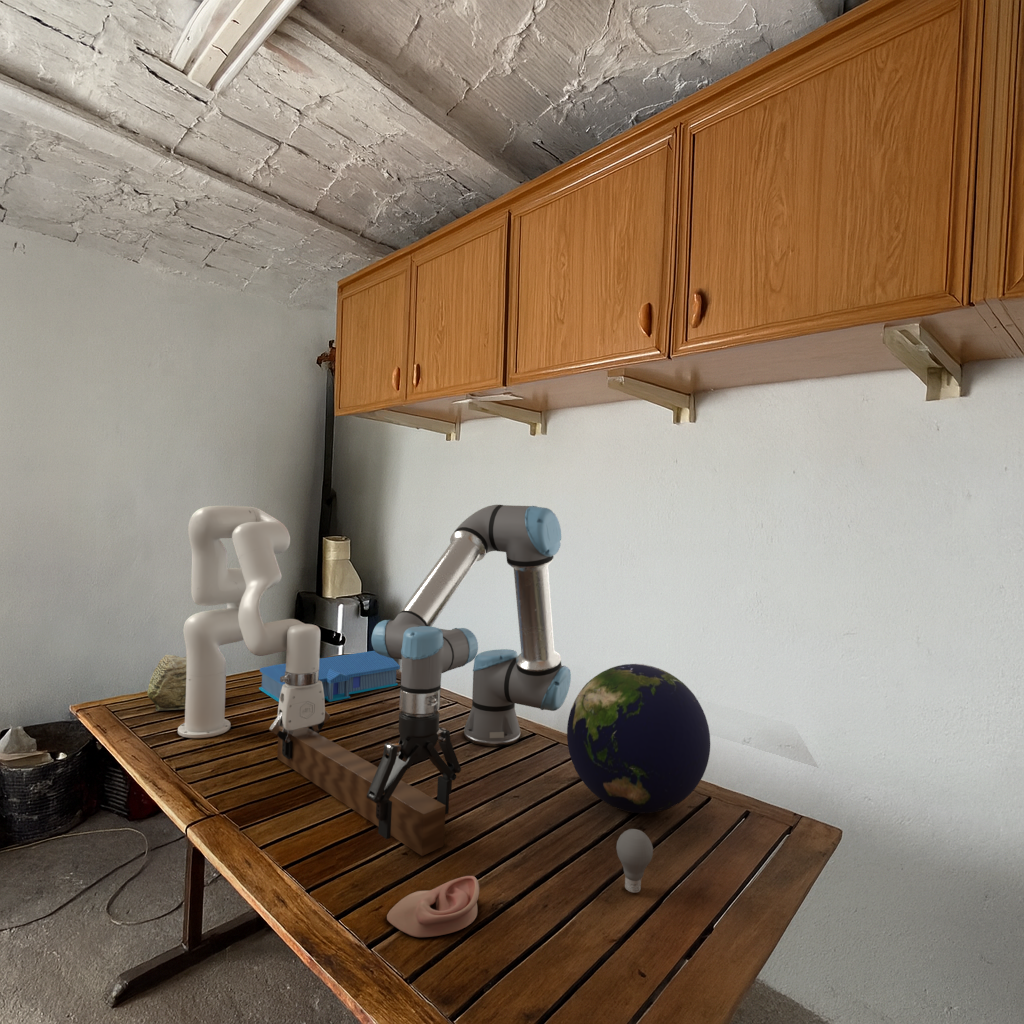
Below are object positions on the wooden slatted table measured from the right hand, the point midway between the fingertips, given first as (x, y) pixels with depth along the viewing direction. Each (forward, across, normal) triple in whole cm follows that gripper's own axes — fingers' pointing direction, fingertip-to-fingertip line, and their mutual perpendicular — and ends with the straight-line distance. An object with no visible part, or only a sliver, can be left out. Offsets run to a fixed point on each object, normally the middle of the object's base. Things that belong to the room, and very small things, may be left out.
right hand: (414, 823), depth 119 cm
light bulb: (+3, +17, -37) cm, 41 cm away
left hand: (0, 0, +44) cm, 44 cm away
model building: (+2, +36, +91) cm, 98 cm away
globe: (+3, +43, -21) cm, 48 cm away
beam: (+3, 0, +22) cm, 22 cm away
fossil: (+3, -6, +102) cm, 102 cm away
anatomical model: (+3, -11, -20) cm, 23 cm away
